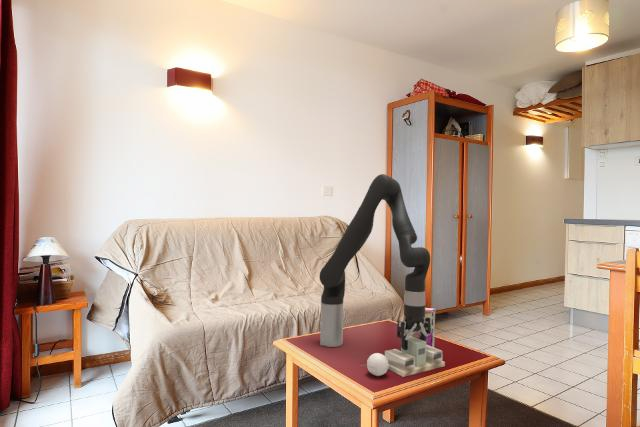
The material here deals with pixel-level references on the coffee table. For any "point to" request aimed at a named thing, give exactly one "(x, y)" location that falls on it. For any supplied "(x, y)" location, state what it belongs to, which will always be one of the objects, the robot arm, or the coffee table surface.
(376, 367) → the seamed sphere
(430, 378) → the coffee table surface
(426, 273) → the robot arm
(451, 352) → the coffee table surface
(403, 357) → the rail board
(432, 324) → the candy bar box
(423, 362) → the block
